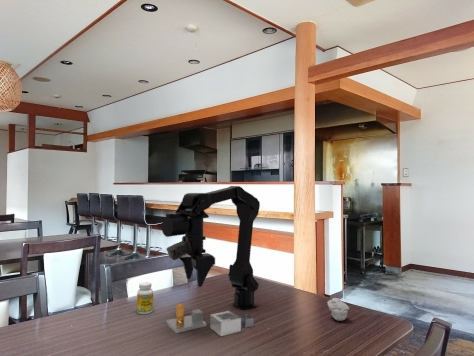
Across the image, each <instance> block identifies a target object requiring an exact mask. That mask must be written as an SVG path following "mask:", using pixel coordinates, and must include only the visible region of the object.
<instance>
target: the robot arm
mask: <svg viewBox="0 0 474 356" xmlns="http://www.w3.org/2000/svg"><path fill="white" fill-rule="evenodd" d="M229 200H231V203H232V204H233V205H235V206H236V209H235V210H236V215H237V217H238V219H239V224H238V225H239V226H238V237H237V244H236V245H237V247H236V256H235V260H234V262H233V264H229V269H228V270H229V271H228V274H227V276H228V279H229V281H230V283H231V287H232V288H234V289H235V290H234V291H235V292H234V293H233V302H232V305H234V306H235V307H237V308H238V309H240V310H246V309H252V308H256V307H257V304H255V292H256V291H258V289H259V286H260V285H259V282H257V280H256V279H255V278H254V269H253V266H252V264H251V250H252V249H251V248H252V238H253V228H254V227H253V226H254V221H255V220H256V218H257V217H258V215H259V212H260V205H261V204H260V201H259V199H258V198H257V197H255V196H254V195H253V194H251V193H249V192H248V191H246V190H245V189H244V188H243V187H242V186H240V185H230V186H228V187H224V188H221V189H220V188H219V189H216V190H212V191H209V192H187V193H184V195H183V197H182V200H181V202H180V204H179V205H178V207H177V209H176V210H175V213H165V218H163V220H162V223H161V231H162V234H163V235H164V237H167V238H170V237H177V236H182V237H181V241H179V242H177V243H174V244H172V245H170V246H168V247H166V251H167V254H168V258H169V259H171V260H172V261H175V260H180V261H181V262H182V265H183V269H184V273H185V277H186V279H187V280H190V279H191V277H192V275H193V272H194V270H195V274H196V275H195V276H196V283H197V287H198V288H201V287H203V284H204V282H205V280H206V278H207V276H208V274H209V273H210V270H211V269H212V268H213V267H214V266H215V265H216V257H215V256H214V255H213V254H210V253H207V251H206V249H205V248H204V241H206V240H207V239H206V236H205V235H204V219H209V217H210V216H209V215H208V213H206V212H205V211H206V210H208V209H210V207H211V206H212V205H215V204H219V203H221V202H225V201H229Z"/></svg>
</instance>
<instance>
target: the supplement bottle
mask: <svg viewBox="0 0 474 356" xmlns="http://www.w3.org/2000/svg"><path fill="white" fill-rule="evenodd" d="M138 288H139V289H138V290H137V293H136V313H137V314H139V315H148V314H150V313H152V312H153V311H154V290H153V288H152V283H151V282H149V281H144V282H140V283H139V287H138Z"/></svg>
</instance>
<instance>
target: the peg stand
mask: <svg viewBox="0 0 474 356" xmlns="http://www.w3.org/2000/svg"><path fill="white" fill-rule="evenodd" d="M203 316H204V313H203V311H202V310H201V309H199V308H198V309H193V310H191V314H190V315H186V316H185V304H184V303H178V304H176V314H175V317H176V318H172V319H170V318H169V319H167V320H166V321H165V323H166V325H167V326H168V327H169V328H170V329H171V330H172V331H173V332H174V333H175V334H178V333H183V332H189V331H191V330H195V329H200V328H204V327H207V322H206V321H204V320H203V319H204V318H203Z"/></svg>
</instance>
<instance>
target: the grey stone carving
mask: <svg viewBox="0 0 474 356" xmlns="http://www.w3.org/2000/svg"><path fill="white" fill-rule="evenodd" d="M327 307H328V309H329V310H330V311H331V316H332V318H333V319H334V320H336V321H341V322H342V321H344V320H346V318H347V316H348V311H349V310H350V307H349V305H347V304H346V303H345V302H343V301H342V300H340V298H337V297H332V299H329V300H328V301H327Z"/></svg>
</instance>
